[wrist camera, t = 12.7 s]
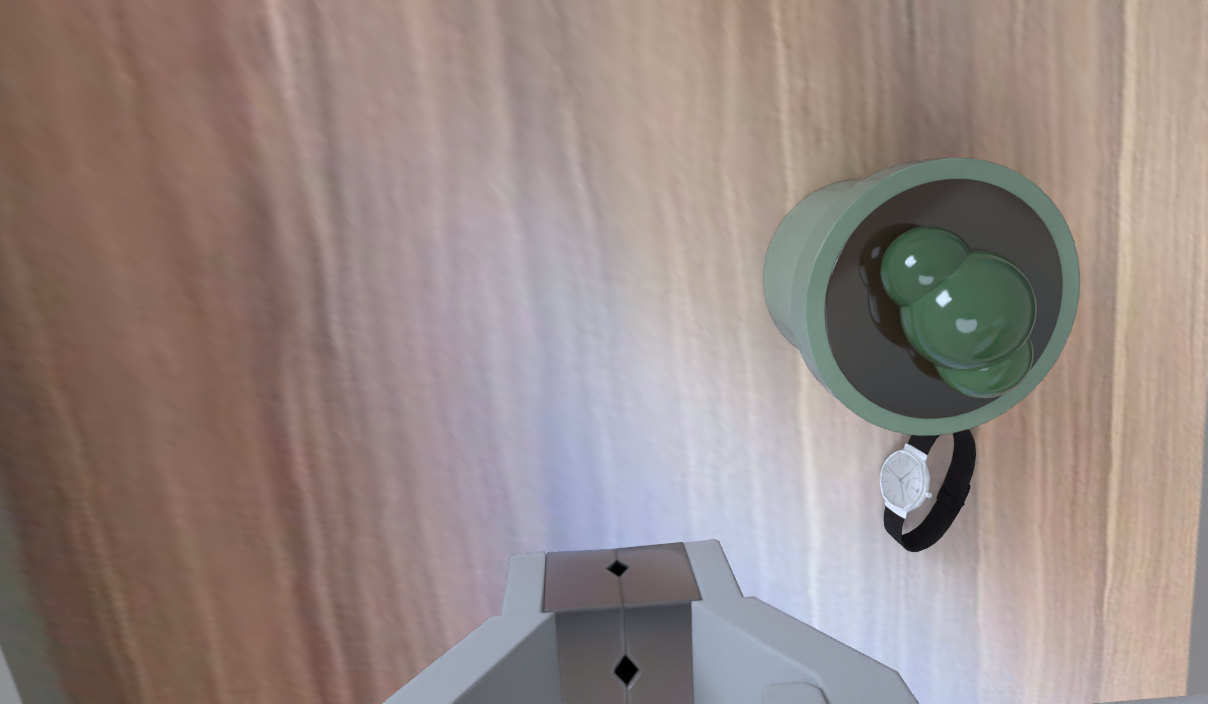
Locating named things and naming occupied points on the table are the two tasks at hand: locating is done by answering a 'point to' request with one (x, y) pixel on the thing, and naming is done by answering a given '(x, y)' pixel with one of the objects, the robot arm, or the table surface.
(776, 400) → the table surface
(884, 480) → the watch
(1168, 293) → the table surface
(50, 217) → the table surface
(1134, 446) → the table surface
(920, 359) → the plant pot
